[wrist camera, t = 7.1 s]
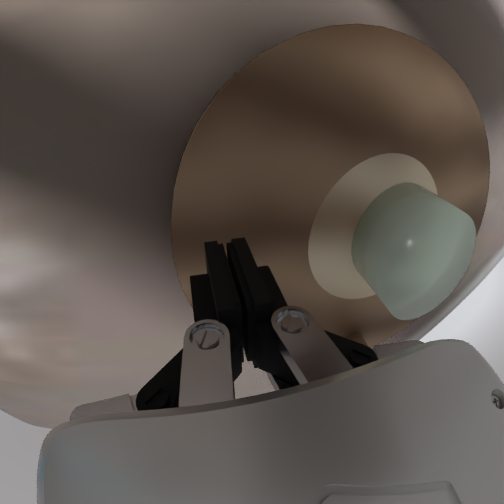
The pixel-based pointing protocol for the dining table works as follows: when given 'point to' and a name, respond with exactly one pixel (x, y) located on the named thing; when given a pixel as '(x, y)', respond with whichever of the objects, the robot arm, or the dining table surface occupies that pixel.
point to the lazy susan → (326, 163)
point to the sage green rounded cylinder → (412, 248)
